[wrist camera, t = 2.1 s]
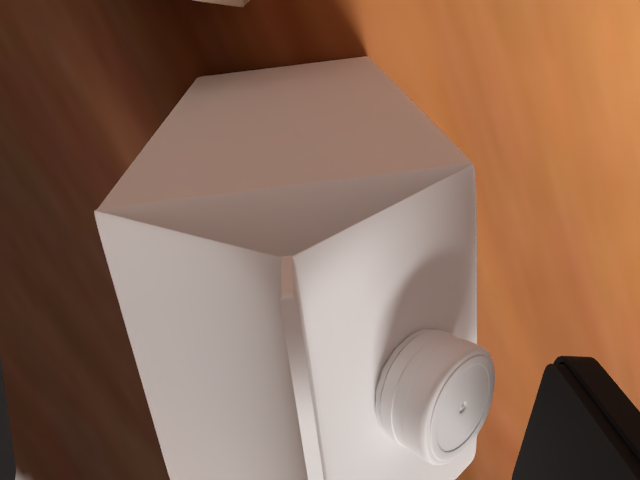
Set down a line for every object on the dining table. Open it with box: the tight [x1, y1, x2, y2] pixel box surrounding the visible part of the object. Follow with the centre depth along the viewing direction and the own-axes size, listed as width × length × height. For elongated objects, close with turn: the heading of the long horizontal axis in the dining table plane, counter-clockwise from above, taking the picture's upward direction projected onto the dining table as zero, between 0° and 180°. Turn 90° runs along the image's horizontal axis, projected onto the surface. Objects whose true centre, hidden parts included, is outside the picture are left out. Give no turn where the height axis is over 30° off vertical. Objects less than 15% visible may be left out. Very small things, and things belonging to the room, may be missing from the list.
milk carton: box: [94, 56, 495, 480], centre depth 17 cm, size 7×7×19 cm
